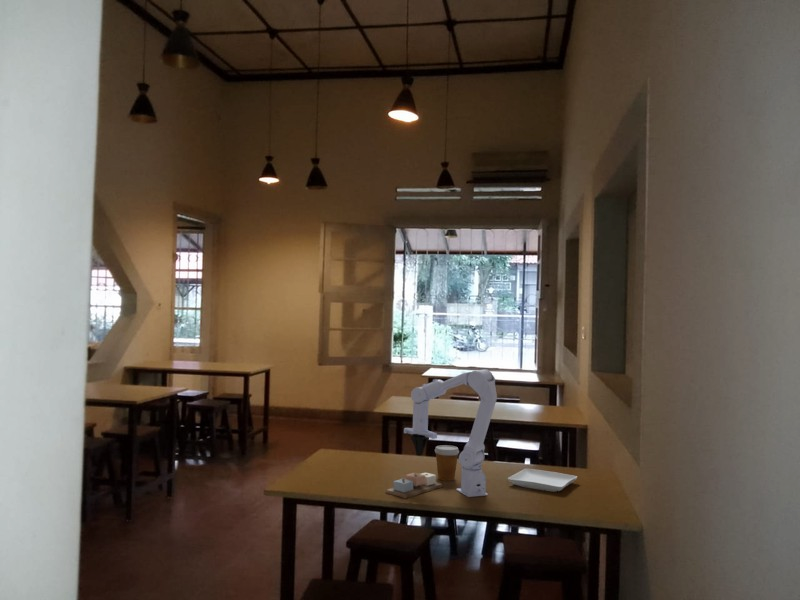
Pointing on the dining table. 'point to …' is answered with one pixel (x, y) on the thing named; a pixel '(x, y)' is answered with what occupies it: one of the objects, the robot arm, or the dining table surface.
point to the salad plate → (542, 480)
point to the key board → (414, 490)
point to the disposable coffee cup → (446, 461)
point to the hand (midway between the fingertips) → (419, 455)
